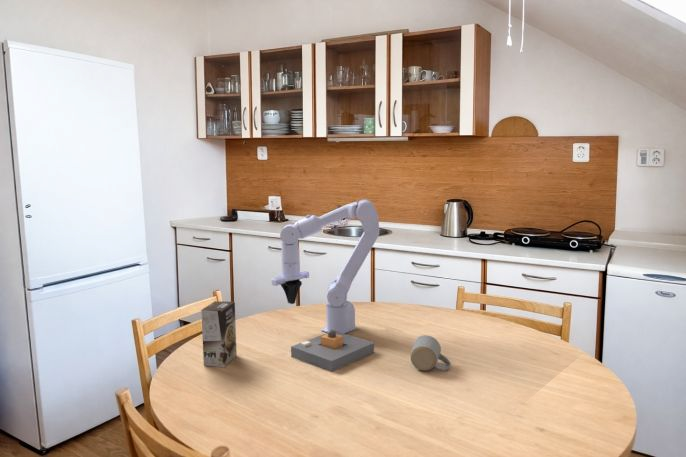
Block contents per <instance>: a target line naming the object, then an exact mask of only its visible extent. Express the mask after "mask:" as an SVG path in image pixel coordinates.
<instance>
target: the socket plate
mask: <svg viewBox="0 0 686 457" xmlns="http://www.w3.org/2000/svg"><path fill="white" fill-rule="evenodd" d="M327 333H328V332H325V333H324V334H322V335H318V336H316V337H313V338H310V339H308V340H305V341H302V342H299V343H296V344H295V345H292V346H290V356H291V358H294V359H297V360H299V361H302V362H303V363H304V362H305V363H307V364H310V365H313V366H314V367H318V368H320V369H323V370H326V371H329V372H334V371H336V370H338V369H341V368H343V367H346V366H347V365H350V364H352V363H354V362H356V361H359V360H361V359H363V358H365V357H368V356H369V355H372V354H374V353H375V342H374V341H369V340H367V339H363V338H360V337H357V336H353V335H350V334H347V333H340V332H337V331H336V335H341V336H343V347H341V348H338V349H336V350H333V349H330V348H327V347H324V346H321V336H323V335H325V334H327Z"/></svg>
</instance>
